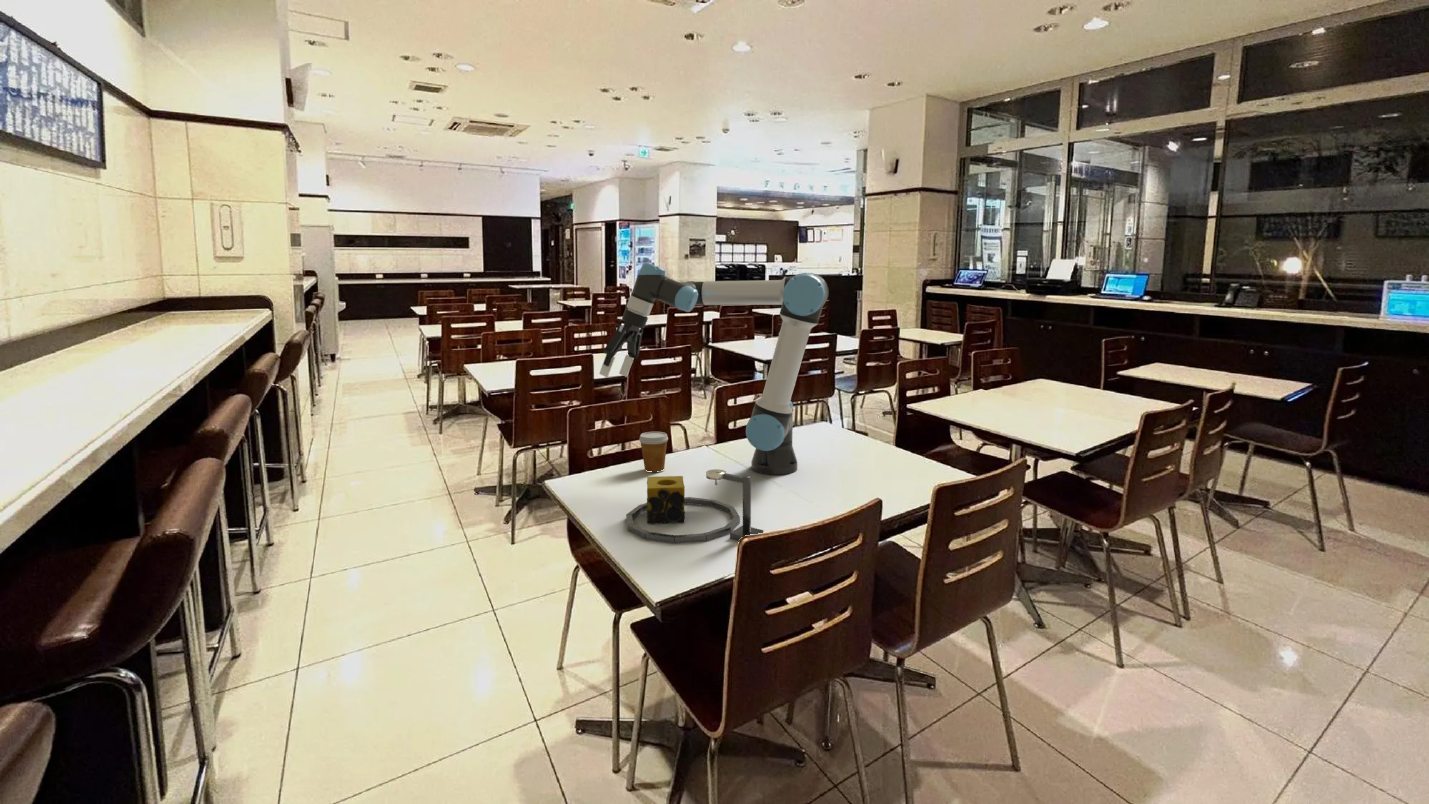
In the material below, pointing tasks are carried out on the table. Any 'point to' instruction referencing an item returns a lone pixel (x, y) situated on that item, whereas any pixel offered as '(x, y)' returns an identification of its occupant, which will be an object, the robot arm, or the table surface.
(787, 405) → the robot arm
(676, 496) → the yellow and black cube
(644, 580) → the table surface
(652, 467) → the disposable coffee cup
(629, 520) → the ring
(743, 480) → the dial indicator stand
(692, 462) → the table surface
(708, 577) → the table surface
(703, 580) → the table surface
